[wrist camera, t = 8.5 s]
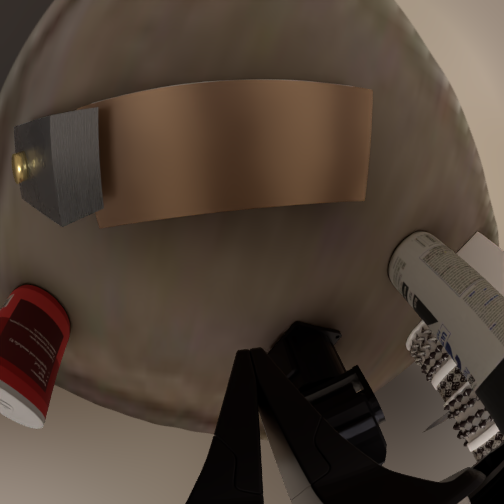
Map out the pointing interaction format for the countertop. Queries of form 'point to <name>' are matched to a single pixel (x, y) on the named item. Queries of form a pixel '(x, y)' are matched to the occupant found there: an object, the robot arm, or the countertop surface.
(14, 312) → the canned food
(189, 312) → the countertop surface
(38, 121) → the lever cap
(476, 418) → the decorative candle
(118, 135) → the body
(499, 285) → the milk
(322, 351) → the robot arm
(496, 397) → the spray can
